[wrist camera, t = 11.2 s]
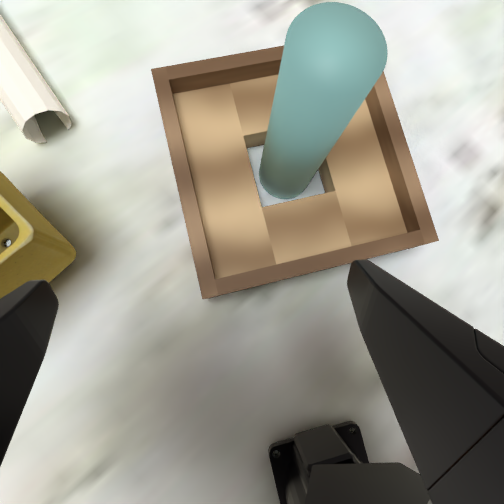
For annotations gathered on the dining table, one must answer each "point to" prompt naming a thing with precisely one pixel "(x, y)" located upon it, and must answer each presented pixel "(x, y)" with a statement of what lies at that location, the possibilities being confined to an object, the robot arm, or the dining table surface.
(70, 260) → the flower pot
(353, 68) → the peg
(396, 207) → the bore box
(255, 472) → the dining table surface
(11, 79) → the white piece
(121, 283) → the dining table surface
